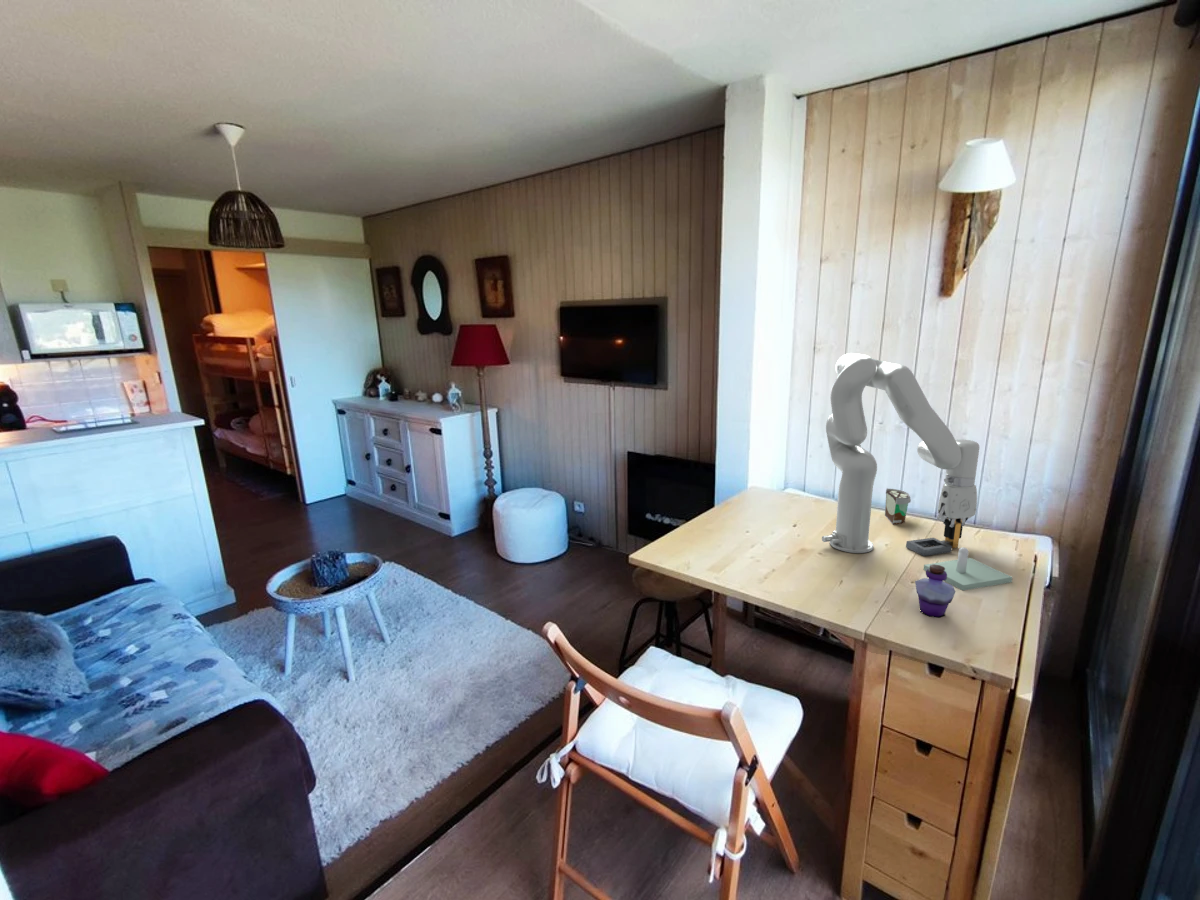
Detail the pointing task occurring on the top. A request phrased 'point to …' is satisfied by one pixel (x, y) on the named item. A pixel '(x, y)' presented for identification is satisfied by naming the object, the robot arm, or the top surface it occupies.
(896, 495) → the food container
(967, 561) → the plate
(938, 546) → the grey square frame
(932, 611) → the potion bottle
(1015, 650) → the top surface
